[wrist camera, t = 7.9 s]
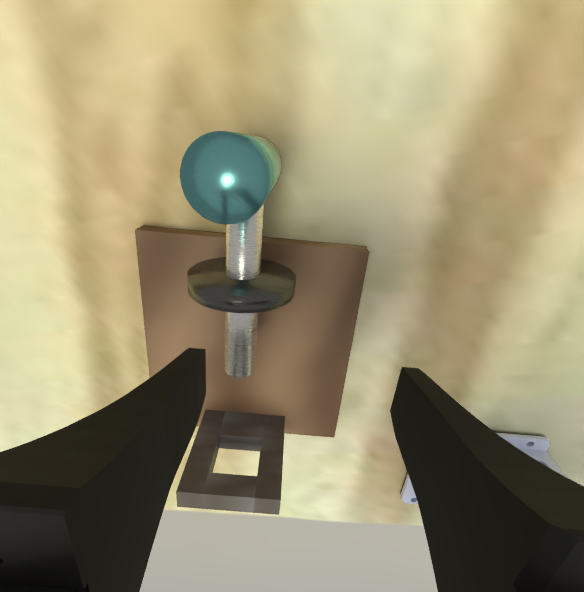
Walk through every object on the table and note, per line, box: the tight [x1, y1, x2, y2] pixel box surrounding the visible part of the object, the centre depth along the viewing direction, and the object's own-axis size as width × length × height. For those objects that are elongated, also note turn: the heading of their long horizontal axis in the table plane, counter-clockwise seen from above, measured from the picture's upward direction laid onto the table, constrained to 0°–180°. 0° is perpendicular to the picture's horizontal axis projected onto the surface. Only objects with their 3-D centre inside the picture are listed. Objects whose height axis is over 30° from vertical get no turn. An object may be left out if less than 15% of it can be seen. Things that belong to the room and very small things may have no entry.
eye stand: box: [135, 226, 369, 515], centre depth 19 cm, size 13×14×7 cm
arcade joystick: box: [180, 131, 296, 378], centre depth 15 cm, size 5×11×8 cm, turn 175°
